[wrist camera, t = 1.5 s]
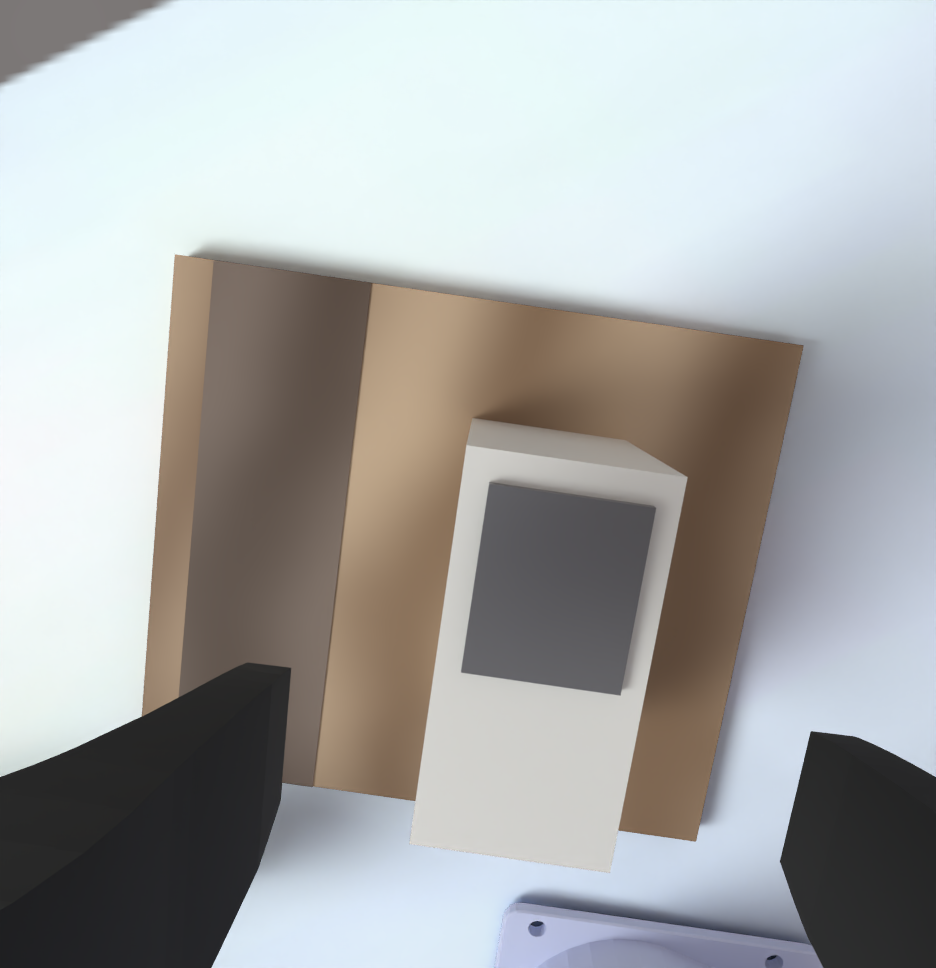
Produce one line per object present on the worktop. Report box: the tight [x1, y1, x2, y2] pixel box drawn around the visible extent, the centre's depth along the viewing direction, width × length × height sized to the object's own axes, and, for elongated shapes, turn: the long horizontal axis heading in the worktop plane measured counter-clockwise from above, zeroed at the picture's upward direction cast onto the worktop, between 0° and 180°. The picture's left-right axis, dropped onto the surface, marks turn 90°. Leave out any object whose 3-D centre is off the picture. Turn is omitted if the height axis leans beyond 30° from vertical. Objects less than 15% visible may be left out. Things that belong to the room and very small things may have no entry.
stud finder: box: [409, 418, 688, 873], centre depth 17 cm, size 4×8×6 cm, turn 172°
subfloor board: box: [142, 255, 803, 841], centre depth 20 cm, size 16×14×1 cm
